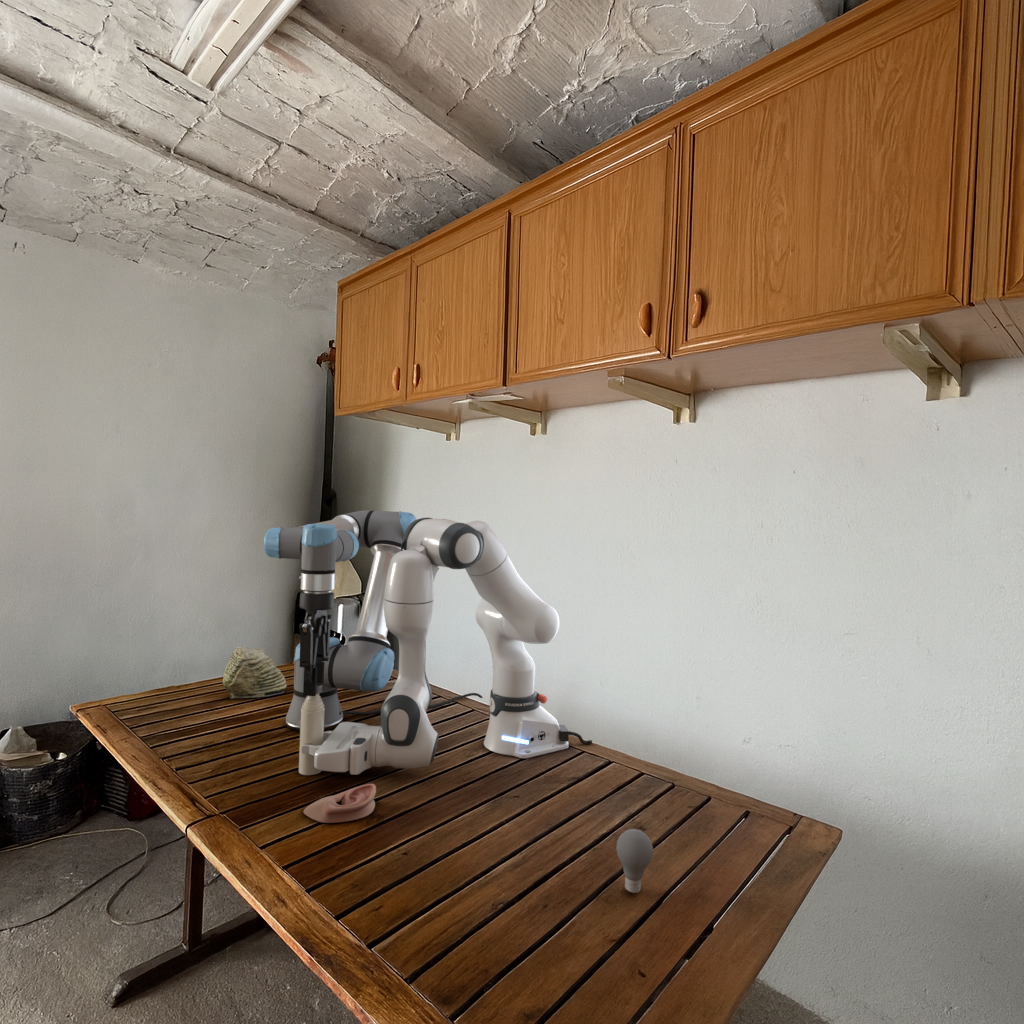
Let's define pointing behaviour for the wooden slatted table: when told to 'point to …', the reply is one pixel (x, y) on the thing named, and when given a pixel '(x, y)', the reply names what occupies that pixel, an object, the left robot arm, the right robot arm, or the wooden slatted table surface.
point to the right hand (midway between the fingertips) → (307, 742)
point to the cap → (318, 687)
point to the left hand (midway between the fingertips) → (313, 692)
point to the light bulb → (634, 857)
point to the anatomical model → (343, 805)
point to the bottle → (311, 731)
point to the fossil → (252, 674)
